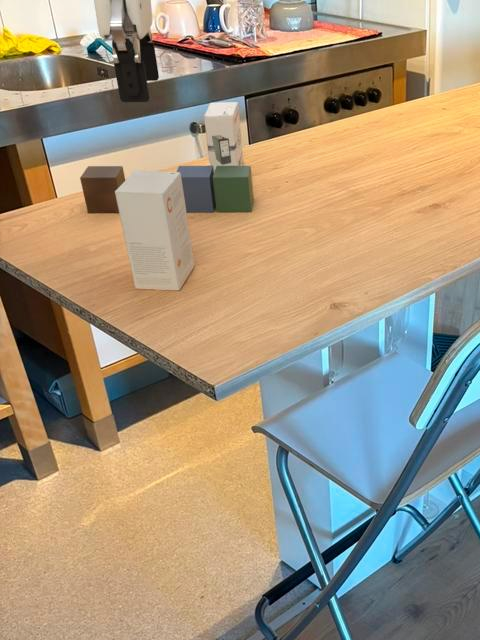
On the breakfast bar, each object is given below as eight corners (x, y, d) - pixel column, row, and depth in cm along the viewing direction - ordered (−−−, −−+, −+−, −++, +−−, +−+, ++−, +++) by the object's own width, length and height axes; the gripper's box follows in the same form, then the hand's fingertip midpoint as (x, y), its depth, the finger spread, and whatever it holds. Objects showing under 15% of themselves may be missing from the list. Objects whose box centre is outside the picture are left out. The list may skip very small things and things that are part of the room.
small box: (151, 264, 115) (134, 169, 106) (195, 266, 114) (181, 171, 106) (133, 289, 108) (113, 190, 100) (179, 291, 108) (163, 192, 100)
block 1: (87, 213, 129) (79, 177, 125) (95, 200, 133) (87, 166, 130) (122, 212, 129) (115, 177, 126) (129, 200, 133) (122, 165, 130)
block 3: (216, 212, 130) (212, 177, 126) (220, 200, 134) (216, 165, 131) (251, 212, 130) (248, 176, 127) (253, 199, 134) (250, 165, 131)
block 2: (179, 212, 130) (173, 177, 126) (183, 200, 134) (178, 165, 130) (213, 212, 130) (209, 177, 126) (217, 200, 134) (213, 165, 131)
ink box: (217, 172, 144) (209, 100, 137) (245, 172, 145) (238, 100, 137) (212, 189, 138) (202, 115, 130) (241, 189, 138) (233, 115, 130)
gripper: (88, -96, 91) (119, 73, 102) (57, -82, 78) (96, 110, 89) (156, -96, 92) (179, 72, 103) (136, -81, 79) (165, 109, 90)
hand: (140, 90), depth 96 cm, fingers open, 9 cm apart
